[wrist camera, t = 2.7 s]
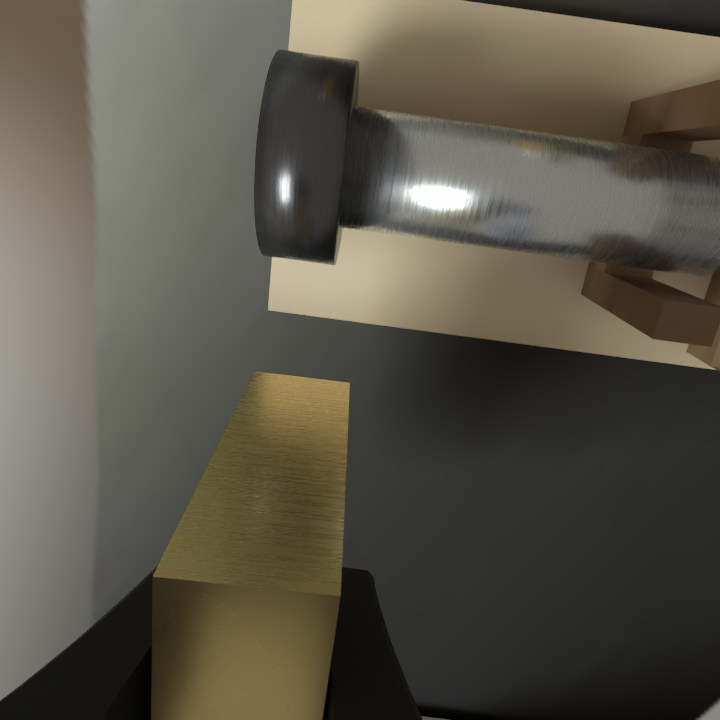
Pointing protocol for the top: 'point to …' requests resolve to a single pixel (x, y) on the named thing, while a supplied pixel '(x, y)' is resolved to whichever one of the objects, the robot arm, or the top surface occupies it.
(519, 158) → the shaft
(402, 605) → the top surface
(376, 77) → the bearing bed
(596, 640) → the top surface
